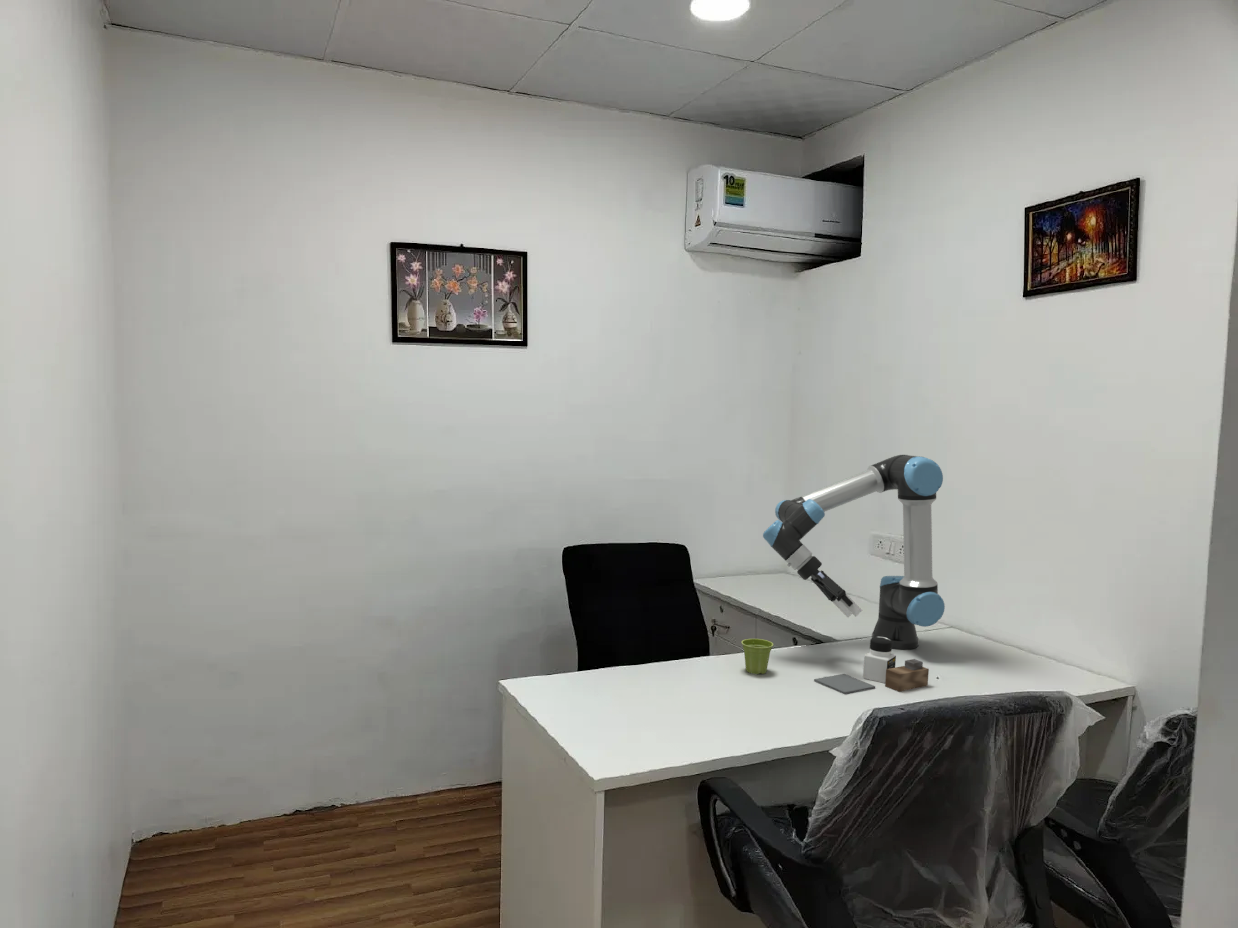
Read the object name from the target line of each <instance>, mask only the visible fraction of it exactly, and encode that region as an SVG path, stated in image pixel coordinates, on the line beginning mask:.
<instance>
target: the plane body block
mask: <svg viewBox="0 0 1238 928" xmlns="http://www.w3.org/2000/svg"><path fill="white" fill-rule="evenodd" d="M929 671H930V670H929V668H928V667H924V661H921V660H919V659H916V658H911V659H907V660H904V665H901V666H895V668H890V669H886V680H885V683H884V684H885V685H884V687H885V688H889V689H891V690H894V691H896V692H899V693H901V692H904V691H910V690H913V689H919V688H923V687H928V686H929V685H928V684H929Z"/></svg>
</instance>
